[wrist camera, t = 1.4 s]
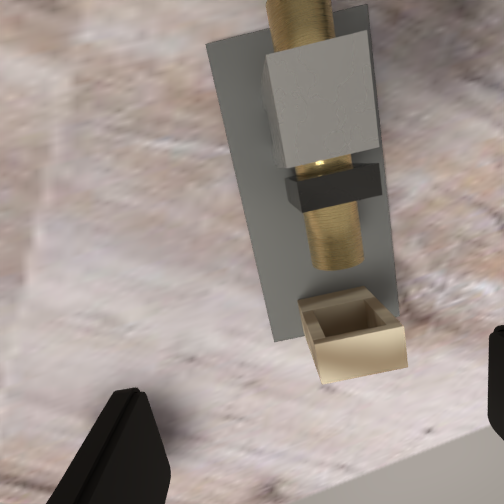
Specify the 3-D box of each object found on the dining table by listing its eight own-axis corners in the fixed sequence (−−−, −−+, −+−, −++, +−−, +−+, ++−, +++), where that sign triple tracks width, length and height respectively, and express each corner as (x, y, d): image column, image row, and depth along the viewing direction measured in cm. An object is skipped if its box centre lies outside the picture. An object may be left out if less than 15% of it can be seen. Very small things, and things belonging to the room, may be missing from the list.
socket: (297, 300, 31) (314, 344, 23) (364, 285, 31) (403, 326, 23) (303, 331, 32) (322, 384, 24) (368, 318, 31) (408, 367, 24)
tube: (255, 27, 23) (259, -26, 16) (325, 9, 22) (356, -51, 16) (298, 257, 27) (314, 284, 21) (357, 244, 27) (390, 267, 21)
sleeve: (259, 87, 26) (265, 54, 18) (330, 70, 25) (366, 29, 18) (275, 167, 27) (287, 168, 20) (341, 152, 27) (379, 147, 19)
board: (206, 48, 26) (205, 44, 25) (362, 10, 25) (367, 3, 24) (273, 337, 33) (274, 342, 32) (395, 311, 32) (399, 316, 31)
